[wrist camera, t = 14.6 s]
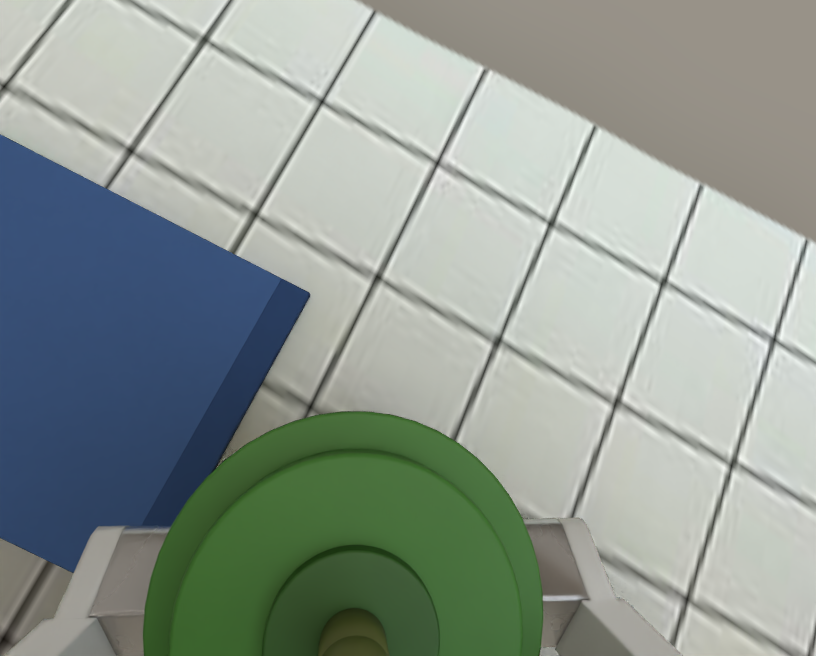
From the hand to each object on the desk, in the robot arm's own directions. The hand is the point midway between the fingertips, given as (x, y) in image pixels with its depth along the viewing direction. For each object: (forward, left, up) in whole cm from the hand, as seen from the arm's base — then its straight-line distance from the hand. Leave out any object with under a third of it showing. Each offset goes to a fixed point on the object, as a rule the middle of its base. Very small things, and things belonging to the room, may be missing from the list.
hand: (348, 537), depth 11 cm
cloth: (-14, -1, -9) cm, 17 cm away
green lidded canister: (0, -1, -4) cm, 4 cm away
